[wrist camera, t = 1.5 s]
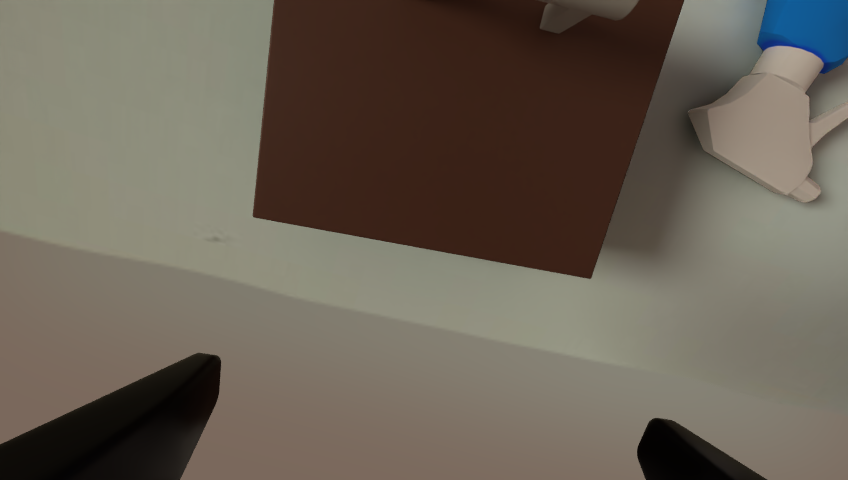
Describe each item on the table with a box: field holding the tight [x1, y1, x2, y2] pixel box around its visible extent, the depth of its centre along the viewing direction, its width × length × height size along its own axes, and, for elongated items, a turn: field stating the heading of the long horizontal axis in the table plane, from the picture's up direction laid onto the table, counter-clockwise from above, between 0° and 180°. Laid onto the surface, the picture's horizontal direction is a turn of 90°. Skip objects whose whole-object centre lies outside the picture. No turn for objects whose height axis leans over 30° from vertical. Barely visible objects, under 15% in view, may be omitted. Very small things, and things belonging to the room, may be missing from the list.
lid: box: [253, 0, 684, 279], centre depth 11 cm, size 10×13×5 cm
